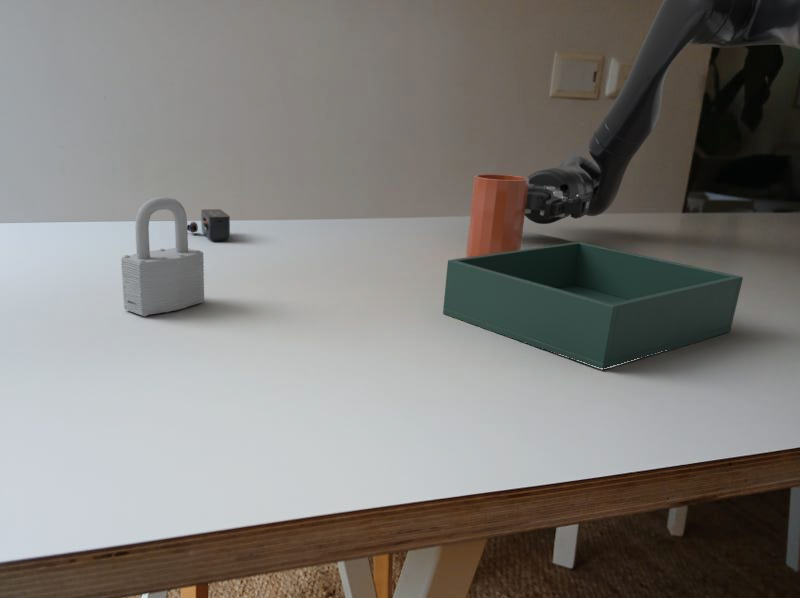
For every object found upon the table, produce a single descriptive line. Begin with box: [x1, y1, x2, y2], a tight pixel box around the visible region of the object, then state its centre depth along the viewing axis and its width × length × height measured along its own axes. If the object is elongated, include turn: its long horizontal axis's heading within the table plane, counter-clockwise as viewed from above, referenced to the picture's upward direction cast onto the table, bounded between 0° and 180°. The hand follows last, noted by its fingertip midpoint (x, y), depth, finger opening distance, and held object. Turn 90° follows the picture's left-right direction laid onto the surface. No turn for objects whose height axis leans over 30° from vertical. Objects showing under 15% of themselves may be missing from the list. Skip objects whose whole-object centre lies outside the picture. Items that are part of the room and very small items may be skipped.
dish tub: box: [442, 241, 744, 369], centre depth 67 cm, size 19×17×5 cm
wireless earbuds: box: [187, 208, 231, 242], centre depth 99 cm, size 5×7×3 cm, turn 19°
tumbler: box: [465, 173, 529, 258], centre depth 91 cm, size 6×6×10 cm
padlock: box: [120, 196, 205, 317], centre depth 66 cm, size 7×4×10 cm, turn 138°
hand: (514, 206), depth 95 cm, fingers open, 8 cm apart
